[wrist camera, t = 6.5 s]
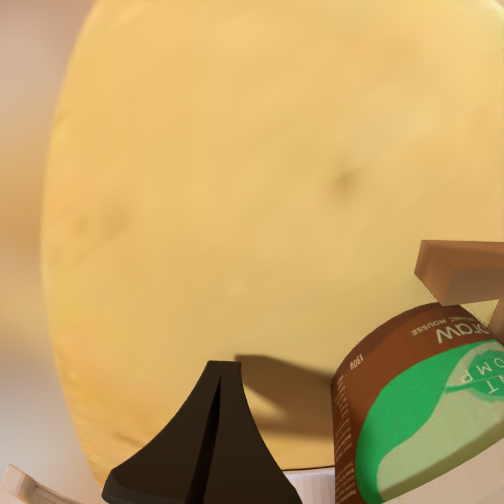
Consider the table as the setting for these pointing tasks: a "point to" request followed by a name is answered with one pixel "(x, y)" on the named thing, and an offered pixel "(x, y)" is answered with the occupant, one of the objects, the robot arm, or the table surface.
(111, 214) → the table surface
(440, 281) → the dock bay
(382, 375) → the food container
